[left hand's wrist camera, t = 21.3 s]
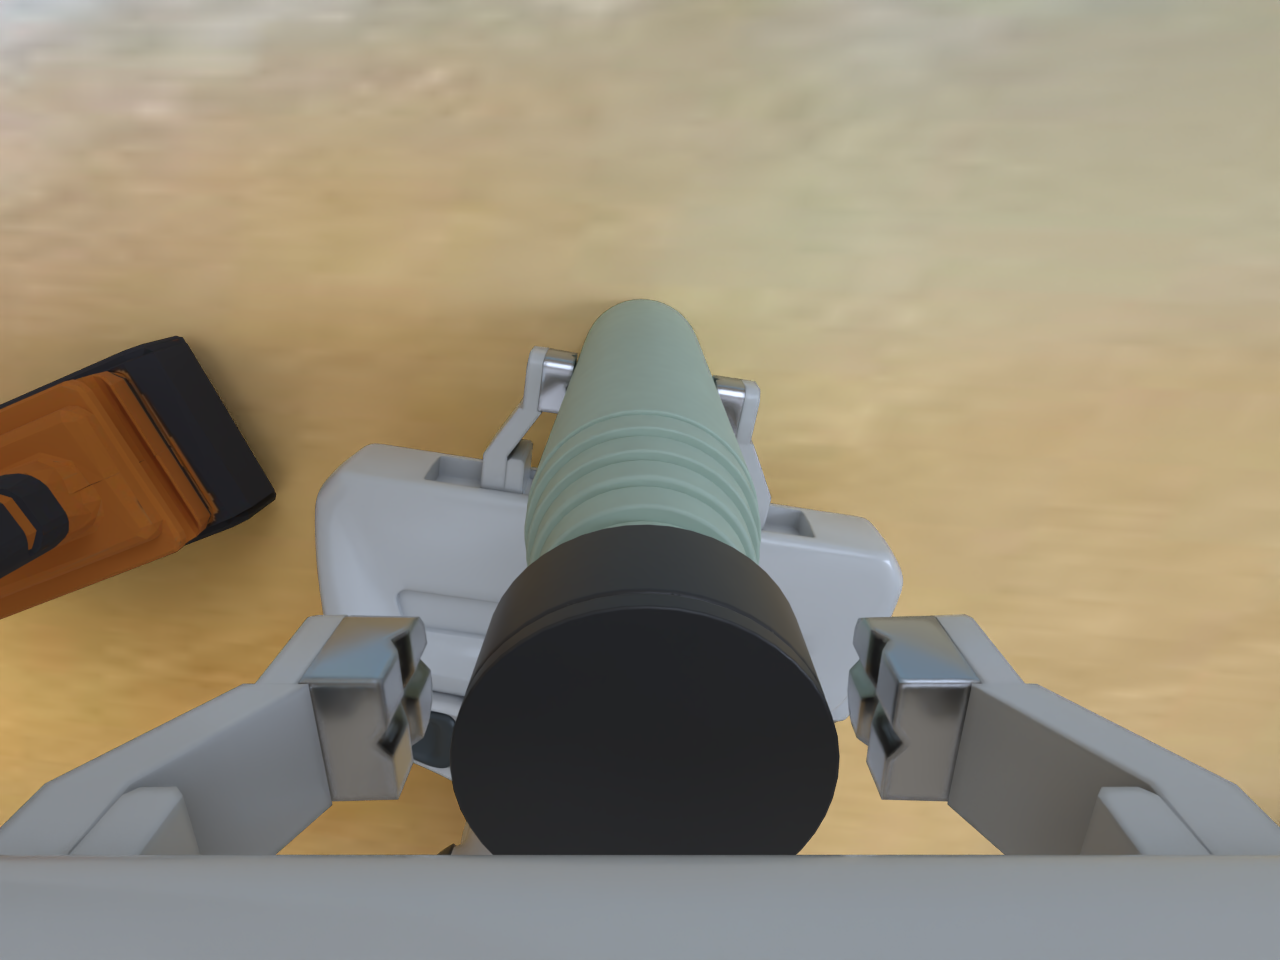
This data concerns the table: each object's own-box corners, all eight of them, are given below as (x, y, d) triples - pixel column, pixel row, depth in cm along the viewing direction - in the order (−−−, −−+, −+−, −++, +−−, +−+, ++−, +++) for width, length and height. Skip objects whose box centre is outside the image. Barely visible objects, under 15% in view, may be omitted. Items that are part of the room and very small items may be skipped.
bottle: (577, 408, 30) (444, 868, 10) (588, 292, 28) (453, 549, 8) (691, 421, 30) (797, 899, 10) (708, 306, 28) (881, 595, 8)
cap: (860, 693, 10) (911, 808, 8) (612, 831, 11) (606, 962, 9) (683, 457, 9) (693, 528, 7) (418, 636, 10) (366, 741, 8)
